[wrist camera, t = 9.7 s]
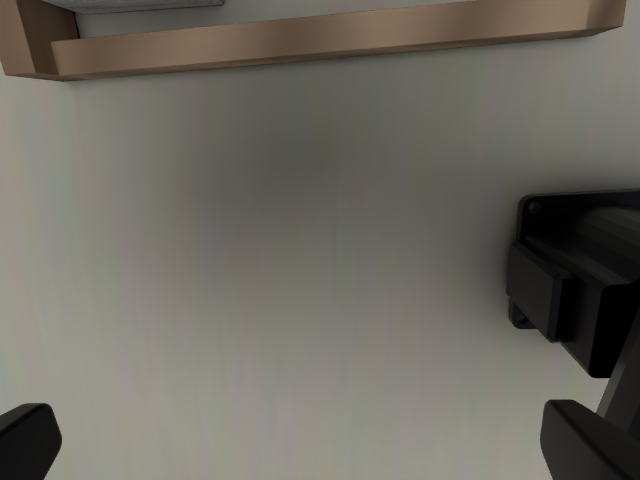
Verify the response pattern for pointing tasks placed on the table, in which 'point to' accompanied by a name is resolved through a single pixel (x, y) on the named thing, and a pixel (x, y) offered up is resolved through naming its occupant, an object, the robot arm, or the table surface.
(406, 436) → the table surface
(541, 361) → the table surface
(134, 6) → the light bulb box
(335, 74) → the table surface
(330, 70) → the table surface
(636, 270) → the robot arm
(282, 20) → the brown rectangular frame
